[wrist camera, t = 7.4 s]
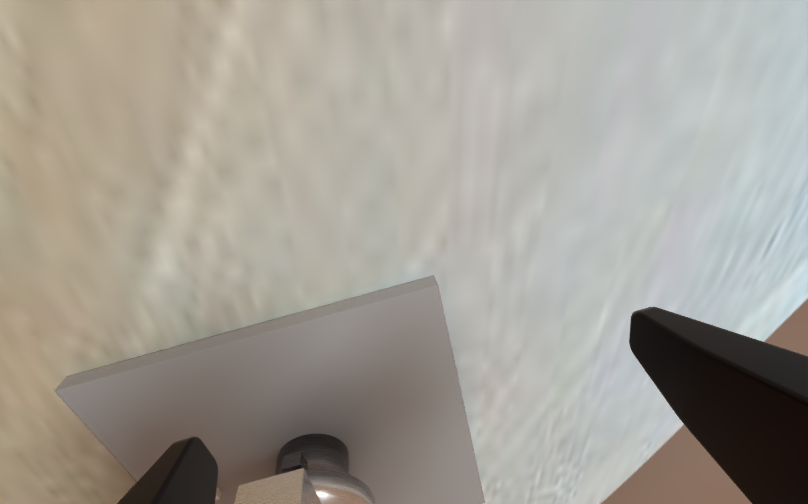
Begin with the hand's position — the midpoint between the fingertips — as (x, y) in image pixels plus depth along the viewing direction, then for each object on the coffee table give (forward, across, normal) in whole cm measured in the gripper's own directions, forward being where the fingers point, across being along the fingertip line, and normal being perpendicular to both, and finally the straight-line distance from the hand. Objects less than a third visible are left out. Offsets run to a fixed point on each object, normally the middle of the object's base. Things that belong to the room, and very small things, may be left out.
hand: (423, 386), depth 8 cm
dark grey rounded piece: (+11, +8, +15) cm, 20 cm away
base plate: (+12, +8, +15) cm, 21 cm away
